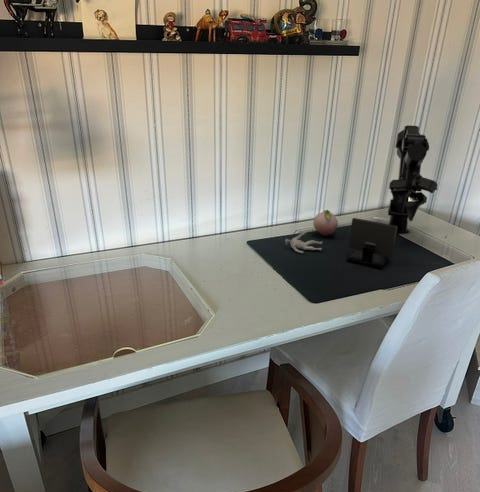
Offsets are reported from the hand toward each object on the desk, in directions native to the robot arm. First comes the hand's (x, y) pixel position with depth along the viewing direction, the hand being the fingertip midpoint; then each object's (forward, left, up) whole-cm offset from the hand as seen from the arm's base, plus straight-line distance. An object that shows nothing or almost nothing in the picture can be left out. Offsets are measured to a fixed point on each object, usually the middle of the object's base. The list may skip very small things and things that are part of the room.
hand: (405, 217), depth 162 cm
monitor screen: (+4, -15, -9) cm, 18 cm away
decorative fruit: (-20, -18, -12) cm, 30 cm away
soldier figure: (-10, -31, -12) cm, 35 cm away
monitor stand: (+5, -15, -12) cm, 20 cm away
